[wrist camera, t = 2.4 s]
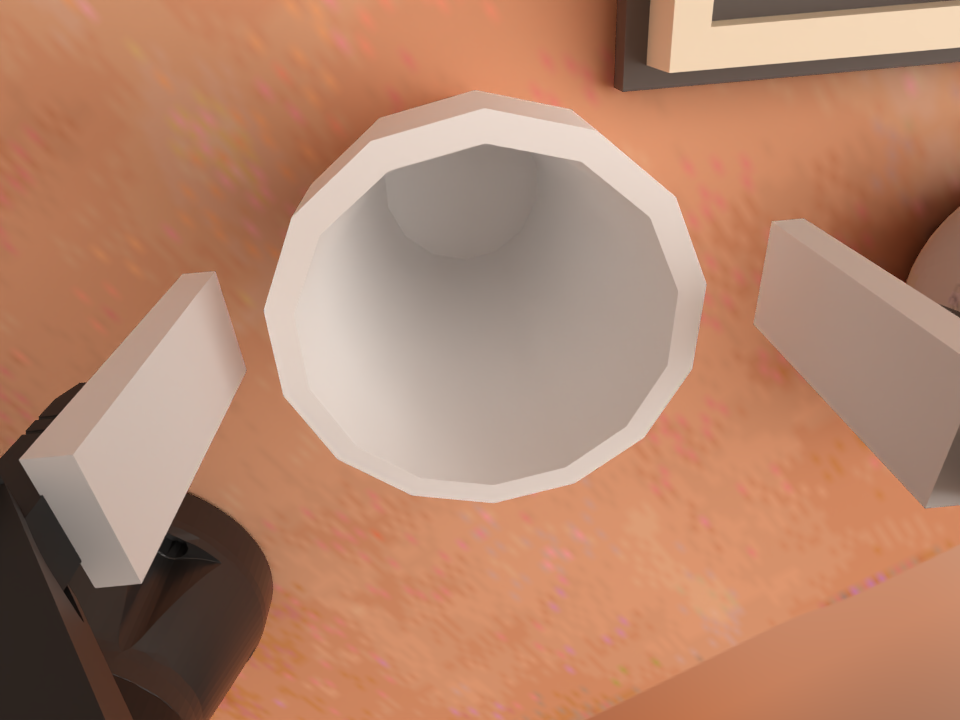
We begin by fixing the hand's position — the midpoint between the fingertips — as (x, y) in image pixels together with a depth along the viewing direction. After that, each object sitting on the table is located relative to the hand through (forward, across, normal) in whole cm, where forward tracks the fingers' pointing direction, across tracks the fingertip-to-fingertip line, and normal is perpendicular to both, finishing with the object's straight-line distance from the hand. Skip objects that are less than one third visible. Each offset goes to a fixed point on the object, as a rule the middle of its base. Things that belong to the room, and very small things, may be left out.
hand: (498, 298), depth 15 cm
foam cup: (+11, -1, 0) cm, 11 cm away
